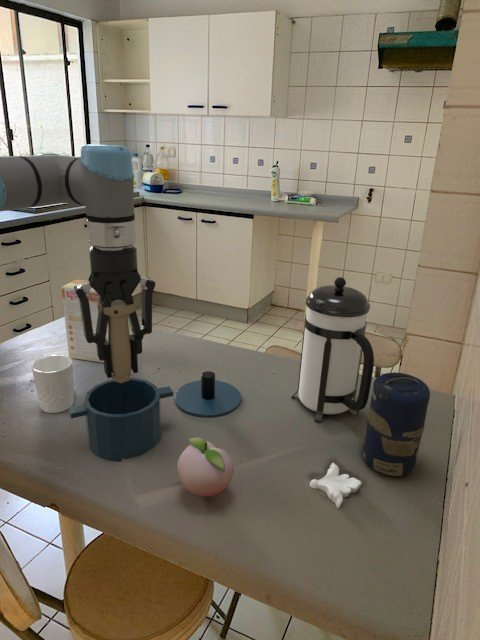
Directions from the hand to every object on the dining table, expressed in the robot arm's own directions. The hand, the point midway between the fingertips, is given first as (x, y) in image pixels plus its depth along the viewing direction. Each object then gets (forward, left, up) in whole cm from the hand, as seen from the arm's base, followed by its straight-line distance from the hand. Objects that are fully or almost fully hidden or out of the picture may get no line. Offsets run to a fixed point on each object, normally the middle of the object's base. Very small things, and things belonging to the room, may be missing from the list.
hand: (121, 371), depth 84 cm
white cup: (-17, -10, -15) cm, 25 cm away
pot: (0, 0, -15) cm, 15 cm away
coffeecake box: (-37, +3, -15) cm, 40 cm away
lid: (-6, +20, -14) cm, 25 cm away
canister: (+27, +42, -15) cm, 52 cm away
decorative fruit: (+20, +8, -15) cm, 26 cm away
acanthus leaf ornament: (+28, +29, -15) cm, 43 cm away
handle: (0, 0, -2) cm, 2 cm away
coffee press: (+8, +43, -15) cm, 46 cm away
